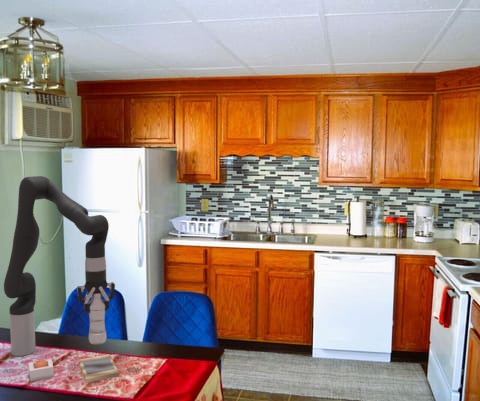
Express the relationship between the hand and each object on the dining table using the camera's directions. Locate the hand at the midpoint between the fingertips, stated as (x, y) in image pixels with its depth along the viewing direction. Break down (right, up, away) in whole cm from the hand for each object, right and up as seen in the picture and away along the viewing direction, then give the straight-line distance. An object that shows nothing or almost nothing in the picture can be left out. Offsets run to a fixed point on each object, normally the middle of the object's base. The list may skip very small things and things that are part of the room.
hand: (96, 311), depth 180 cm
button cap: (-20, -22, -3) cm, 30 cm away
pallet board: (0, -23, +2) cm, 23 cm away
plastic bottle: (0, -13, +1) cm, 13 cm away
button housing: (-20, -23, -2) cm, 31 cm away
